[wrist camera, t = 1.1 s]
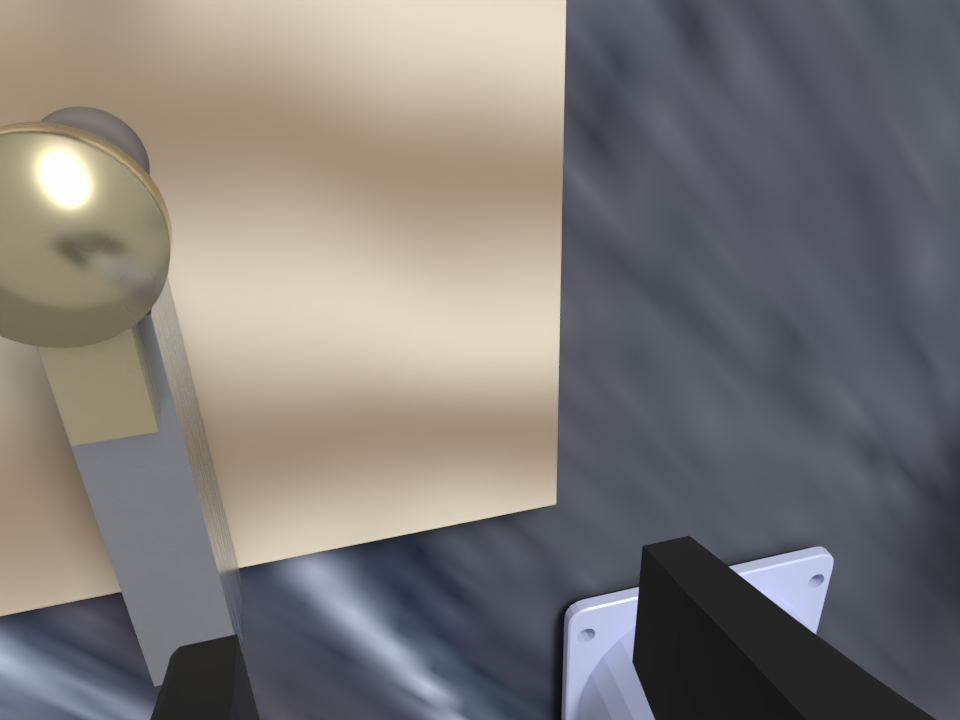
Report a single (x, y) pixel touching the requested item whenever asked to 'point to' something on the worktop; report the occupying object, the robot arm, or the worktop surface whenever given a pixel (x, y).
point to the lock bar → (118, 374)
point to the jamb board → (314, 262)
